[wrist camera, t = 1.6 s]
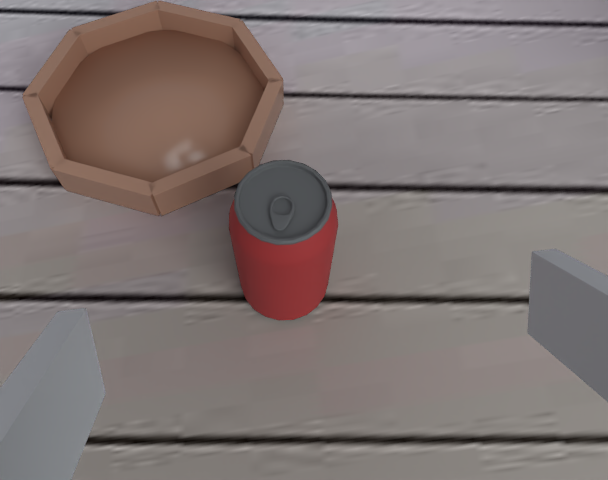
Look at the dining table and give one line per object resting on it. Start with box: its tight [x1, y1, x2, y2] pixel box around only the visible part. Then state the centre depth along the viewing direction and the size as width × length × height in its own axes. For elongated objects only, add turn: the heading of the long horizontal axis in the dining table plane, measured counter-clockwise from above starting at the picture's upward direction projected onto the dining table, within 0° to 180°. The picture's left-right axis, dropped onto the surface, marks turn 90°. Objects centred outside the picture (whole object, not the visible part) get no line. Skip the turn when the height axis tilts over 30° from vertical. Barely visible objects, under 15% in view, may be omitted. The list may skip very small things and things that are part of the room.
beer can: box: [229, 160, 338, 320], centre depth 35 cm, size 7×7×12 cm
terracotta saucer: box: [22, 1, 284, 216], centre depth 46 cm, size 20×20×3 cm
